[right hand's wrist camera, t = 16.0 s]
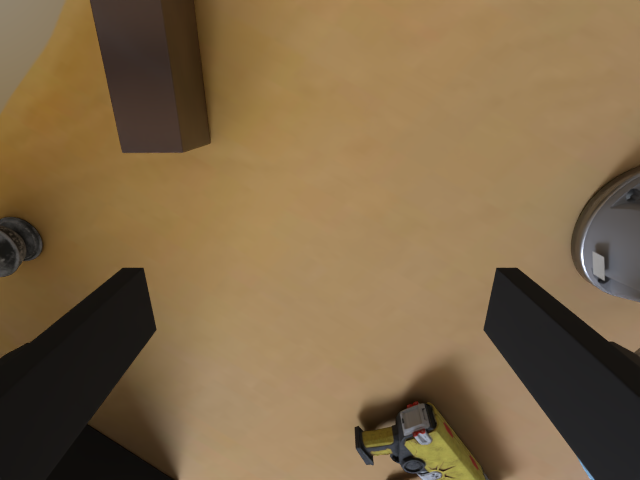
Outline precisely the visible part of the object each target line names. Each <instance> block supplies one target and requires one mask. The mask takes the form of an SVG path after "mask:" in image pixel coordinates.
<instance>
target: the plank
mask: <svg viewBox="0 0 640 480" xmlns="http://www.w3.org/2000/svg"><path fill="white" fill-rule="evenodd" d="M90 3H91V8H92V12H93V17H94V22H95V26H96V31H97V36H98V41H99V45H100V50H101V55H102V59H103V64H104V69H105V74H106V78H107V83H108V88H109V92H110V97H111V102H112V107H113V111H114V116H115V121H116V125H117V130H118V135H119V140H120V144H121V149H122V153H183V152H186V151H189V150H192V149H195V148H198V147H201V146H204V145H207V144H210V135H209V127H208V118H207V110H206V101H205V93H204V84H203V76H202V67H201V59H200V50H199V42H198V34H197V25H196V17H195V8H194V0H90Z"/></svg>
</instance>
